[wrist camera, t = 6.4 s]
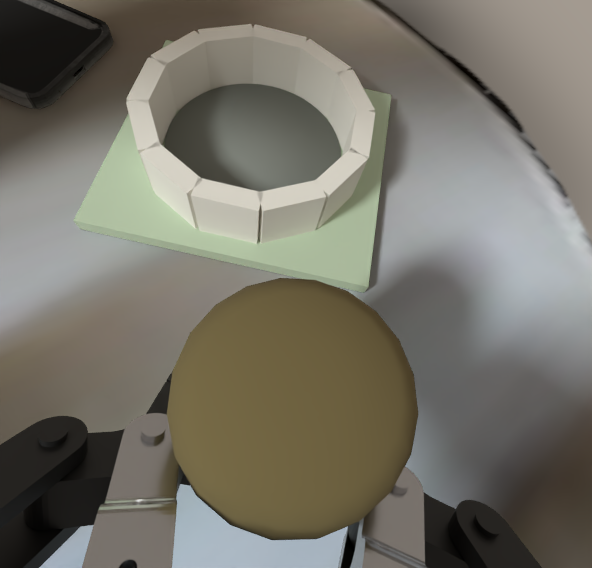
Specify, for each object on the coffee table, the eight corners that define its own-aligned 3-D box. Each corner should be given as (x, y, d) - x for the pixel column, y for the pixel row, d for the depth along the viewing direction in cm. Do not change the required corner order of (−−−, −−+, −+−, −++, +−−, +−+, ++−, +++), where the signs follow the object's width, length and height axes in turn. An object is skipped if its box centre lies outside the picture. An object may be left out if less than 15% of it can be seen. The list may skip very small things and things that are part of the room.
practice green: (80, 228, 19) (42, 182, 15) (168, 51, 24) (155, -13, 21) (363, 292, 19) (389, 261, 16) (387, 104, 25) (409, 51, 21)
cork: (273, 325, 18) (303, 185, 8) (364, 418, 17) (531, 390, 7) (173, 416, 16) (43, 380, 6) (267, 530, 15) (306, 724, 5)
